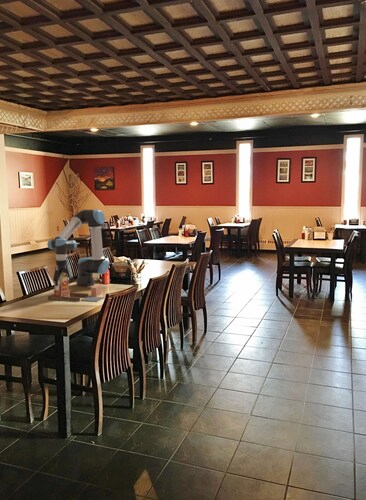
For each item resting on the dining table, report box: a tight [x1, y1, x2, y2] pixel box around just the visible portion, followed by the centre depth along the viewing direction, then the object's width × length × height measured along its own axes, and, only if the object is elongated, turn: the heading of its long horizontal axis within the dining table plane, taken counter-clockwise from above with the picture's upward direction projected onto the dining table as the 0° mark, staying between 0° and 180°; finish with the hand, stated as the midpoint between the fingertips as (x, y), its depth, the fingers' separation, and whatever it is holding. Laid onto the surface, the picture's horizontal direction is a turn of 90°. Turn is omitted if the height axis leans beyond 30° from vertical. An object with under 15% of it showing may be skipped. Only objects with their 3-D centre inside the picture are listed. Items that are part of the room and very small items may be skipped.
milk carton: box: [53, 272, 71, 297], centre depth 312 cm, size 9×9×20 cm
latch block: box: [90, 284, 103, 297], centre depth 322 cm, size 10×4×7 cm, turn 168°
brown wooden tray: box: [47, 292, 89, 302], centre depth 312 cm, size 15×24×2 cm, turn 78°
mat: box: [80, 295, 104, 303], centre depth 308 cm, size 12×12×1 cm
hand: (61, 288), depth 312 cm, fingers open, 13 cm apart
